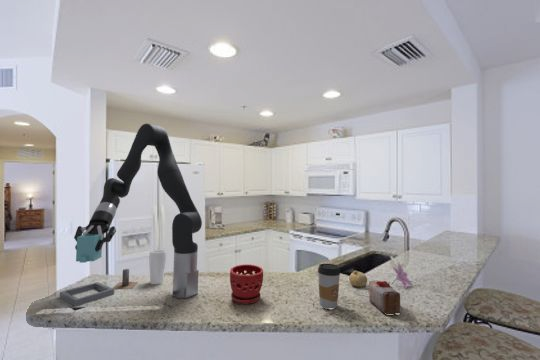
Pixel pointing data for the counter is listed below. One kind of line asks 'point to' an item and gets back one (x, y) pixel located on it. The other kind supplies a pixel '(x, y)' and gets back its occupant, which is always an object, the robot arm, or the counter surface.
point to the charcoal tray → (75, 301)
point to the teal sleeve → (87, 248)
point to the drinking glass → (157, 266)
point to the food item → (384, 297)
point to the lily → (402, 276)
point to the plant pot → (246, 283)
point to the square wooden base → (125, 281)
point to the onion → (358, 279)
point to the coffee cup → (328, 285)
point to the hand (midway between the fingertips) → (87, 250)
